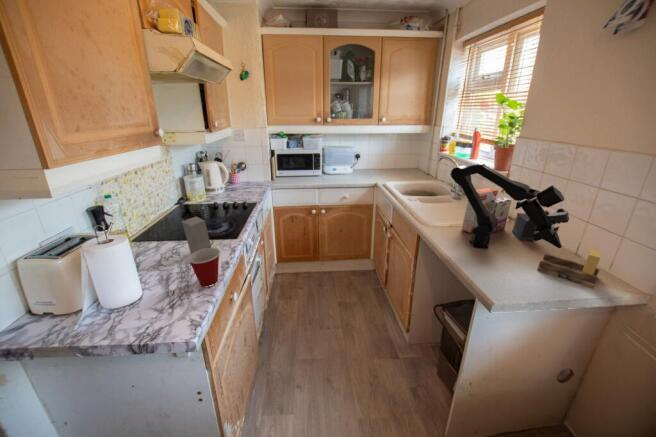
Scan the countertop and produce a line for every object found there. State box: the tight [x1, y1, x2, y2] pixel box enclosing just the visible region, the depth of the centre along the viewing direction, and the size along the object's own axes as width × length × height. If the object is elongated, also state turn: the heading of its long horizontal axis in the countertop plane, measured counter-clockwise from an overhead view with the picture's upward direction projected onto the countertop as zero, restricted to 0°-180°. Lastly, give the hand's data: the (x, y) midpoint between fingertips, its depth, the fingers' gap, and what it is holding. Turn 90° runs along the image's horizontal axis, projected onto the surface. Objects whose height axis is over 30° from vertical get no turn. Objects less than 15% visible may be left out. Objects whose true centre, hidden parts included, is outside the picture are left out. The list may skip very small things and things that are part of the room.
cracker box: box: [461, 187, 499, 234], centre depth 145 cm, size 14×6×21 cm, turn 117°
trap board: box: [536, 252, 600, 289], centre depth 112 cm, size 17×11×4 cm, turn 45°
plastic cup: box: [186, 247, 221, 287], centre depth 103 cm, size 11×11×12 cm
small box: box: [511, 212, 536, 243], centre depth 140 cm, size 11×6×10 cm, turn 168°
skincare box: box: [181, 216, 212, 254], centre depth 122 cm, size 8×7×16 cm
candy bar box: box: [488, 196, 513, 234], centre depth 146 cm, size 11×5×16 cm, turn 116°
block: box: [582, 248, 603, 276], centre depth 106 cm, size 3×6×9 cm, turn 135°
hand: (560, 247), depth 112 cm, fingers closed
